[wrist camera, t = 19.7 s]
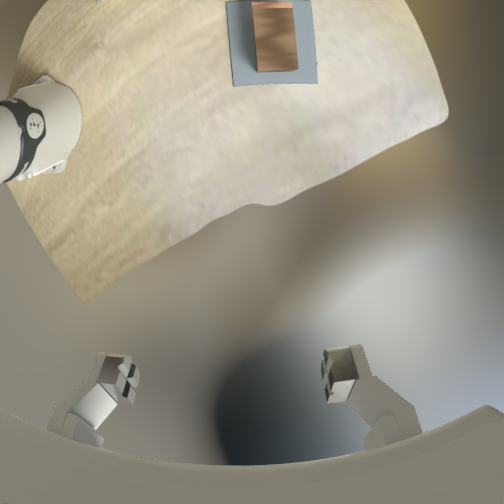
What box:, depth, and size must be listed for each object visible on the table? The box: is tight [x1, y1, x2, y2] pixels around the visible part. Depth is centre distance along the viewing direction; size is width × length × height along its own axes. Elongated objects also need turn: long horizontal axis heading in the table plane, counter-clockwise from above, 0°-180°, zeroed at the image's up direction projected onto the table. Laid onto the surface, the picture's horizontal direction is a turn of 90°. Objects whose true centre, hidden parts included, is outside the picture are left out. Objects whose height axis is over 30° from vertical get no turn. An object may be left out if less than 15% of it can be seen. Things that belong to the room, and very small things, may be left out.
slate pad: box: [226, 0, 318, 87], centre depth 30 cm, size 12×14×1 cm
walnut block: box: [251, 2, 298, 73], centre depth 28 cm, size 5×5×10 cm
